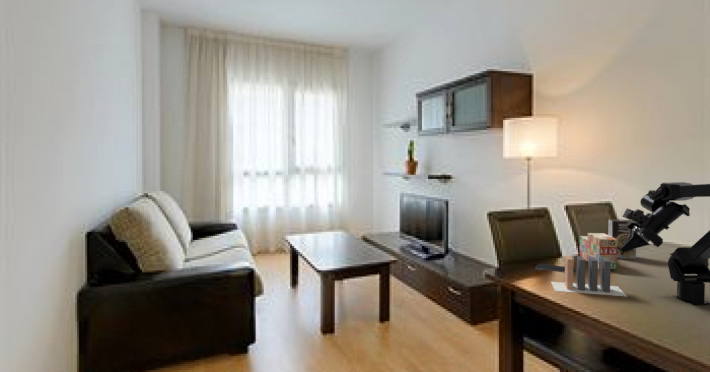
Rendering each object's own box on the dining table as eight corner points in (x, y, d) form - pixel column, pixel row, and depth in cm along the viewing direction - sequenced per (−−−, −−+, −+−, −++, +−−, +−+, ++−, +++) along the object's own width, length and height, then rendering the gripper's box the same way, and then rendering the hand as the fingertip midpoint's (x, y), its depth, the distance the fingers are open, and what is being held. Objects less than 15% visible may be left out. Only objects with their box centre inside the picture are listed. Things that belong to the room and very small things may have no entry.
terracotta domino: (570, 285, 134) (570, 256, 134) (572, 289, 130) (573, 259, 129) (564, 284, 135) (565, 255, 134) (567, 289, 130) (567, 259, 129)
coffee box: (611, 258, 170) (612, 220, 169) (607, 254, 176) (607, 218, 175) (636, 259, 167) (637, 221, 166) (631, 255, 173) (631, 219, 172)
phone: (577, 274, 146) (534, 267, 156) (577, 277, 146) (534, 270, 156) (582, 269, 152) (540, 263, 162) (582, 272, 152) (540, 265, 162)
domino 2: (593, 286, 132) (594, 257, 131) (597, 291, 127) (597, 260, 127) (588, 286, 132) (588, 256, 132) (591, 291, 128) (592, 260, 127)
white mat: (617, 288, 132) (617, 286, 132) (627, 298, 122) (627, 296, 122) (550, 283, 138) (550, 281, 138) (555, 292, 129) (555, 290, 129)
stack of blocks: (579, 256, 175) (579, 229, 174) (594, 257, 173) (595, 229, 173) (599, 270, 154) (599, 238, 153) (617, 270, 152) (617, 238, 152)
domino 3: (605, 287, 131) (606, 257, 130) (610, 292, 126) (610, 261, 125) (600, 287, 131) (600, 257, 131) (604, 292, 127) (604, 261, 126)
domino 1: (581, 286, 133) (582, 256, 132) (585, 290, 128) (585, 260, 128) (576, 285, 134) (576, 256, 133) (579, 290, 129) (579, 259, 128)
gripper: (632, 198, 138) (595, 228, 142) (650, 202, 121) (608, 237, 125) (659, 221, 135) (621, 251, 140) (682, 229, 118) (637, 263, 122)
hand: (621, 250), depth 132 cm, fingers closed
